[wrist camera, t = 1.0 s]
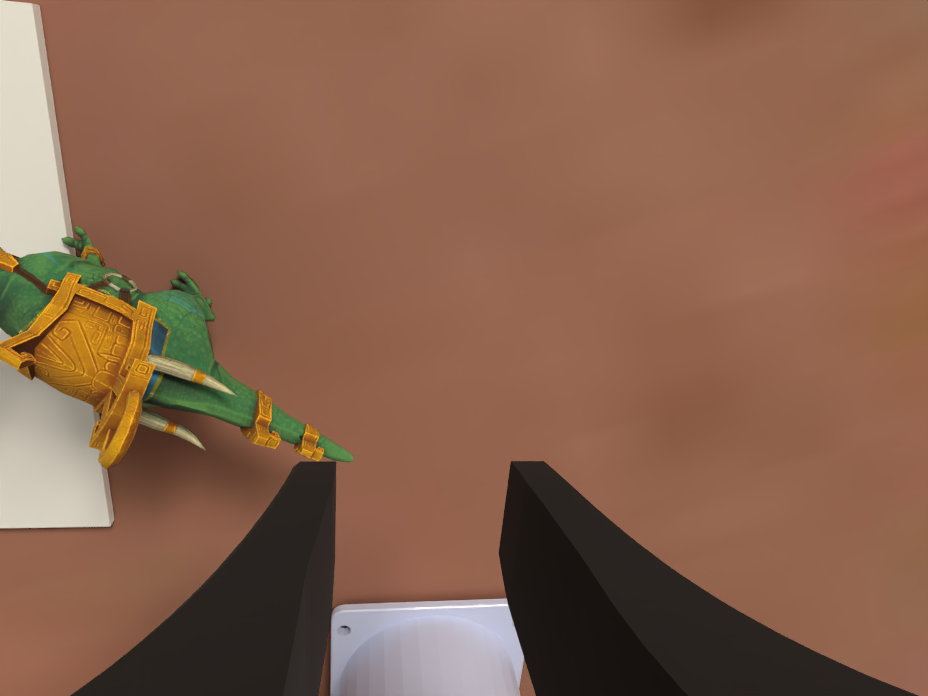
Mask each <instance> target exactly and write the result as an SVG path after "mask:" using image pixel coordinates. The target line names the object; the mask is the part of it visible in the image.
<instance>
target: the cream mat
mask: <svg viewBox="0 0 928 696" xmlns="http://www.w3.org/2000/svg"><path fill="white" fill-rule="evenodd" d="M67 236H68V237H71V238H73V231H72V224H71V217H70V211H69V204H68V197H67V190H66V183H65V176H64V169H63V163H62V156H61V149H60V142H59V135H58V128H57V121H56V114H55V108H54V101H53V94H52V87H51V80H50V73H49V66H48V60H47V53H46V46H45V39H44V32H43V25H42V18H41V12H40V5H36V4H31V3H22V2H12V1H2V0H0V247H1V248H2V249H3V250H4V251H5V252H6V253H10V254H12V255H15V256H17V257H20V258H22V257H24V256H26V255H28V254H36V253H43V252H51V251H57V252H62V253H67V254H71V255H74V256H76V252H75V248H73V247H69V246H68V245H66V244H64V243H63V241H62V239H61V238H64V237H67ZM10 338H12V337H11V336H9V335H8V334H6V333H5V332H4V331H3V330H2V329H1V328H0V343H1V342H3V341H5V340H8V339H10ZM98 420H100V416H99V413H98V412H95V411H94V406H93V405H91V404H88V403H86V402H84V401H81V400H79V399H76V398H74V397H71V396H68V395H66V394H63V393H61V392H60V391H58V390H56V389H55V388H53V387H51V386H50V385H48V384H46V383H45V382H43V381H41V380H40V379H38V378H36V377H34V378H33V380H32V381H31V380H30V379H28V378H27V377H25V376H24V375H22V374H21V373H20V372H18V371H17V369H16V368H14V367H12V366H10V365H9V364H7V363H5V362H3V361H2V360H0V528H50V527H110V526H111V524H112V523H113V521H114V512H113V505H112V499H111V492H110V485H109V478H108V471H107V469H104V468H103V467H102V465H101V464H100V463H99V461H98V459H99V454H100V451H101V450H98V449H95V448H91V447H89V443H90V439H91V435H92V431H93V427H94V425H95V424H96V423H97V421H98Z"/></svg>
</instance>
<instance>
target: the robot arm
mask: <svg viewBox="0 0 928 696" xmlns="http://www.w3.org/2000/svg"><path fill="white" fill-rule="evenodd" d="M335 511H336V462H299V463H298V464H297V465H296V466H294V467H293V469H292V471H291V473H290V474H289V476H288V478H287V479H286V481H285V483H284V484H283V486H282V487H281V489H280V491H279V492H278V494H277V495H276V496H275V498H274V499H273V501H272V502H271V504H270V505H269V506H268V508H267V509H266V511H265V512H264V513H263V514H262V516H261V517H260V518H259V520H258V521H257V522H256V524H255V525H254V526H253V528H252V529H251V530H250V531H249V533H248V534H247V535H246V537H245V538H244V539H243V540H242V541H241V543H240V544H239V545H238V546H237V547H236V548H235V549H234V551H233V552H232V553H231V554H230V555H229V556H228V557H227V559H226V560H225V561H224V562H223V563H222V564H221V565H220V567H219V568H218V569H217V570H216V571H215V572H214V573H213V574H212V575H211V576H210V578H209V579H208V580H207V581H206V582H205V583H204V584H203V585H202V586H201V587H200V588H199V589H198V590H197V591H196V592H195V593H194V594H193V595H192V596H191V597H190V598H189V599H188V600H187V601H186V602H185V603H184V604H182V605H181V606H180V607H179V608H178V609H177V610H176V611H175V612H174V613H173V614H172V615H171V616H170V617H169V618H168V619H166V620H165V621H164V622H163V623H162V624H161V625H159V626H158V627H157V628H156V629H155V630H154V631H153V632H151V633H150V634H149V635H148V636H147V637H146V638H144V639H143V640H142V641H141V642H140V643H139V644H137V645H136V646H135V647H134V648H133V649H132V650H130V651H129V652H128V653H127V654H125V655H124V656H123V657H122V658H120V659H119V660H118V661H117V662H115V663H114V664H113V665H112V666H110V667H109V668H108V669H106V670H105V671H104V672H102V673H101V674H100V675H98V676H97V677H95V678H94V679H93V680H91V681H90V682H89V683H87V684H86V685H84V686H83V687H82V688H80V689H79V690H78V691H76V692H75V693H73V694H72V695H71V696H318V693H319V687H320V681H321V675H322V669H323V663H324V657H325V650H326V644H327V638H328V632H329V626H330V620H331V686H330V696H520V692H519V686H520V679H521V673H522V667H523V661H524V659H525V662H526V665H527V668H528V671H529V674H530V678H531V681H532V684H533V687H534V690H535V694H536V696H918V695H915V694H913V693H910V692H908V691H905V690H903V689H900V688H898V687H895V686H892V685H890V684H887V683H885V682H882V681H880V680H877V679H875V678H872V677H870V676H867V675H865V674H863V673H861V672H858V671H856V670H854V669H852V668H850V667H847V666H845V665H843V664H841V663H839V662H837V661H834V660H832V659H830V658H828V657H826V656H824V655H821V654H819V653H817V652H815V651H813V650H811V649H809V648H807V647H805V646H803V645H801V644H799V643H797V642H795V641H793V640H791V639H789V638H787V637H785V636H783V635H781V634H779V633H777V632H775V631H773V630H772V629H770V628H768V627H766V626H764V625H763V624H761V623H759V622H757V621H755V620H754V619H752V618H750V617H748V616H746V615H745V614H743V613H741V612H739V611H737V610H736V609H734V608H732V607H731V606H729V605H727V604H726V603H724V602H722V601H721V600H719V599H717V598H716V597H714V596H713V595H711V594H710V593H708V592H706V591H705V590H703V589H702V588H700V587H699V586H697V585H696V584H694V583H693V582H691V581H690V580H688V579H687V578H685V577H683V576H682V575H680V574H679V573H678V572H676V571H675V570H673V569H672V568H671V567H669V566H668V565H666V564H665V563H664V562H662V561H661V560H660V559H658V558H657V557H656V556H654V555H653V554H652V553H650V552H649V551H648V550H646V549H645V548H644V547H643V546H641V545H640V544H639V543H637V542H636V541H635V540H634V539H632V538H631V537H630V536H629V535H627V534H626V533H625V532H624V531H622V530H621V529H620V528H619V527H618V526H616V525H615V524H614V523H613V522H612V521H610V520H609V519H608V518H607V517H606V516H605V515H604V514H602V513H601V512H600V511H599V510H598V509H597V508H596V507H594V506H593V505H592V504H591V503H590V502H589V501H588V500H587V499H585V498H584V497H583V496H582V495H581V494H580V493H579V492H578V491H577V490H576V489H574V488H573V487H572V486H571V485H570V484H569V483H568V482H567V481H566V480H565V479H563V478H562V477H561V476H560V475H559V474H558V473H557V472H556V471H555V470H553V469H552V468H551V467H550V466H549V465H548V464H546V463H545V462H544V461H511V465H510V472H509V480H508V487H507V495H506V503H505V510H504V518H503V525H502V533H501V540H500V548H499V557H500V563H501V569H502V575H503V581H504V586H505V592H506V597H507V599H479V600H451V601H424V602H396V603H368V604H344V605H339V606H338V607H336V608H335V609H334V610H333V611H332V600H333V583H334V565H335ZM331 613H332V616H331ZM341 626H348V627H346V628H341Z"/></svg>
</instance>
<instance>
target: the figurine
mask: <svg viewBox="0 0 928 696" xmlns="http://www.w3.org/2000/svg"><path fill="white" fill-rule="evenodd" d="M74 229H75V232H76V234H77V235H78V236H79V237H81V238H82V241H78V240H76V239H74V238H71V237H68V236H67V237H64V238H61V239H62V241H63V243H64V244H66V245H68V246H69V247H73V248H76V249H78V250H79V251H81V252H82V254H81V256H80V257H77V256H74V255H71V254H67V253H62V252H57V251H51V252H43V253H36V254H28V255H26V256H24V257H22V258H20V257H17V256H15V255H12V254H10V253H6V252H5V251H4V250H3V249H2V248H1V247H0V328H1V329H2V330H3V331H4V332H5V333H6V334H8V335H9V336H11V337H12V338H10V339H8V340H5V341H3V342H1V343H0V360H2V361H3V362H5V363H7V364H9V365H10V366H12V367H14V368H16V369H17V371H18V372H20V373H21V374H22V375H24V376H25V377H27V378H28V379H30V380H31V381H32V380H33V378H34V377H36V378H38V379H40V380H41V381H43V382H45V383H46V384H48V385H50V386H51V387H53V388H55V389H56V390H58V391H60V392H61V393H63V394H66V395H68V396H71V397H74V398H76V399H79V400H81V401H84V402H86V403H88V404H91V405H93V406H94V411H95V412H98V413H101V414H102V415H101V420H98V421H97V423H96V424H95V425H94V427H93V431H92V435H91V439H90V443H89V447H91V448H95V449H98V450H101V451H100V454H99V459H98V461H99V463H100V464H101V465H102V467H103V468H104V469H107V468H109V467H112V466H114V465H116V464H117V463H119V462H120V461H121V460H122V459H123V457H124V456H125V454H126V452H127V451H128V449H129V447H130V445H131V442H132V440H133V438H134V436H135V433H136V430H137V427H138V424H139V423H140V424H142V425H145V426H147V427H150V428H152V429H155V430H159V431H162V432H166V433H169V434H173V435H176V436H179V437H181V438H183V439H185V440H188V441H190V442H191V443H193V444H195V445H197V446H198V447H200V448H202V449H204V450H205V448H204V447H203V446H202V444H201V443H200V442H199V440H198V439H197V437H196V436H195V435H194V434H192V433H191V432H190V431H189V430H188V429H186V428H185V427H183V426H181V425H179V424H177V423H175V422H173V421H171V420H169V419H167V418H165V417H163V416H161V415H159V414H157V413H154V412H152V411H150V410H147V409H145V408H143V407H142V406H153V407H164V408H170V409H176V410H182V411H187V412H193V413H199V414H204V415H209V416H212V417H215V418H217V419H220V420H222V421H225V422H227V423H230V424H233V425H236V426H239V427H240V429H241V432H242V433H243V435H244V436H245V438H249V439H251V443H254V444H257V445H261V446H267V447H270V448H274V449H276V447H277V446H278V444H279V442H280V441H281V440H283V441H286V442H289V443H292V444H295V446H294V451H295V452H297V453H299V454H301V455H303V456H305V457H309V458H312V459H314V460H317V461H319V460H320V459H321V457H322V456H324V457H326V458H329V459H331V460H335V461H342V462H353V456H352V455H351V454H350V453H348V452H347V451H346V450H344V449H343V448H342V447H341V446H339V445H338V444H336V443H334V442H333V441H331V440H329V439H328V438H326V437H324V436H323V435H321V434H319V430H317V429H316V428H314V427H312V426H310V425H309V424H305V425H304V424H303V423H301V422H299V421H298V420H296V419H295V418H293V417H291V416H290V415H288V414H287V413H285V412H284V411H282V410H281V409H280V408H278V407H277V406H276V405H274V404H273V403H272V399H271V398H270V397H268V396H267V395H266V394H265V393H263V392H262V391H261V390H258V391H256V392H255V391H253V390H252V389H250V388H249V387H247V386H245V385H244V384H242V383H241V382H239V381H237V380H236V379H234V378H233V377H232V376H231V375H230V374H229V373H228V372H227V371H226V370H225V369H224V368H223V367H222V366H221V365H220V364H219V363H218V362H217V361H216V360H215V359H214V354H213V349H212V344H211V340H210V337H209V333H208V329H207V326H206V322H205V321H214V320H215V318H216V317H215V315H214V314H213V312H212V310H211V309H210V307H209V305H211V304H212V303H211V299H209V298H203V297H202V295H201V293H200V291H199V289H198V286H197V285H196V283H195V282H194V281H193V280H192V279H191V278H189V277H188V275H187V274H186V273H185V272H183V271H177V272H178V277H179V278H181V279H182V280H184V281H185V283H186V284H184V283H182V282H181V281H179V280H177V279H173V280H170V281H171V283H172V285H173V286H174V287H176V288H178V289H179V290H181V291H179V290H168V291H158V292H149V293H143V292H141V291H140V290H138V289H137V287H136V284H135V282H134V281H132V280H131V279H129V278H127V277H126V276H124V275H121V274H120V273H119V272H118V271H117V270H115V269H110V268H105V267H103V266H105V263H104V262H103V260H104V259H103V257H102V256H101V254H100V252H99V250H98V249H97V248H95V247H93V245H92V243H91V241H90V239H89V238H88V237H87V235H86V232H85V231H84V230H83V229H81V228H80V227H75V226H74ZM205 451H206V450H205Z"/></svg>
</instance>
